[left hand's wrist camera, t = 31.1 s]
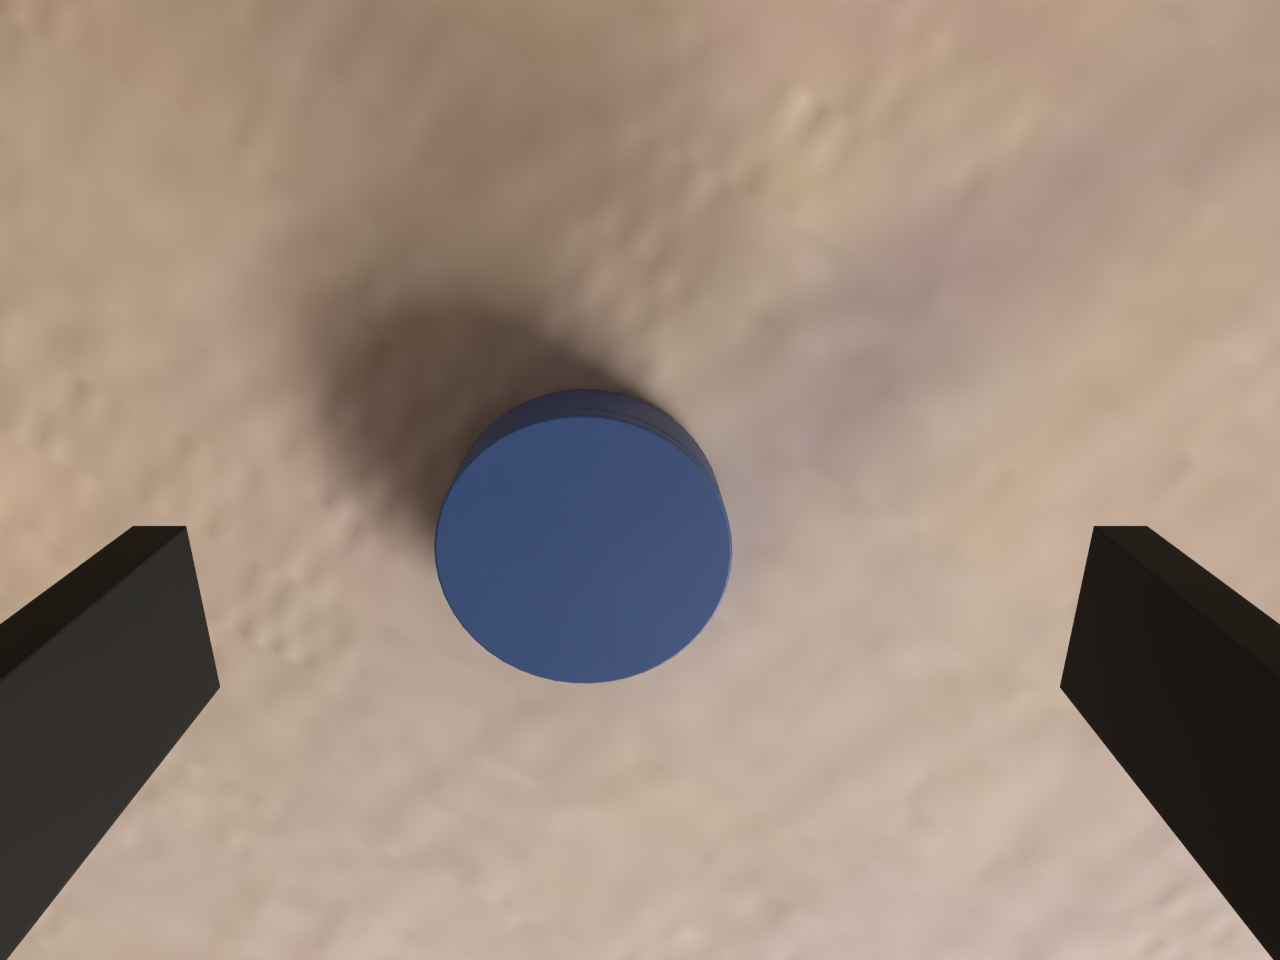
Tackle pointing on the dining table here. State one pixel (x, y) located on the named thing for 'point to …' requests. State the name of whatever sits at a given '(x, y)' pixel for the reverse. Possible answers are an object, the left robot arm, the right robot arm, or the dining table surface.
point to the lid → (584, 538)
